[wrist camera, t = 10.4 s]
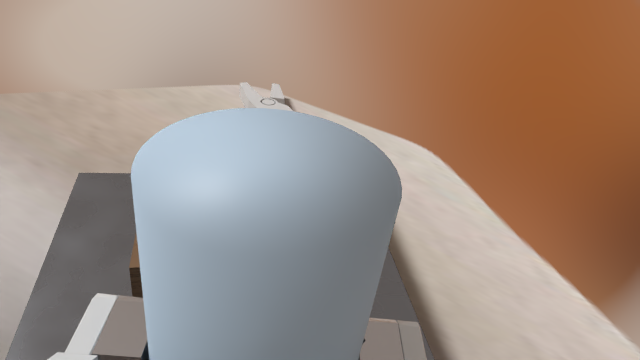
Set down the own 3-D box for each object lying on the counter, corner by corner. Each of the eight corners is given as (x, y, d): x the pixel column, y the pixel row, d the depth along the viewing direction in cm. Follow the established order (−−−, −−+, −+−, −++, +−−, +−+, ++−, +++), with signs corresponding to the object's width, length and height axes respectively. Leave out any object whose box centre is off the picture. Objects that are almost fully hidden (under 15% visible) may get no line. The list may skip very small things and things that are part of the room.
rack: (-151, 898, 10) (-264, 890, 8) (85, 208, 29) (73, 141, 26) (537, 726, 14) (612, 682, 11) (352, 208, 32) (365, 148, 30)
